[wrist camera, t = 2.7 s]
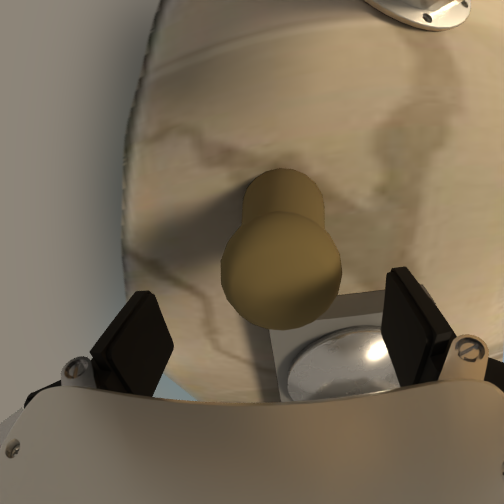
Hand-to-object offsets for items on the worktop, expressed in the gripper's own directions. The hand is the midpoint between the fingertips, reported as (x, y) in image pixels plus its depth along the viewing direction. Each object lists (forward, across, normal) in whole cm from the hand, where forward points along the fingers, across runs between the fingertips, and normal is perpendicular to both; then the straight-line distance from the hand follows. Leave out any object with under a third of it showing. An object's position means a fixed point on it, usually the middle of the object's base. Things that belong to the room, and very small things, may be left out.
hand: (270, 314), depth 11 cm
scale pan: (+8, -6, +14) cm, 17 cm away
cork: (+11, -1, -1) cm, 11 cm away
